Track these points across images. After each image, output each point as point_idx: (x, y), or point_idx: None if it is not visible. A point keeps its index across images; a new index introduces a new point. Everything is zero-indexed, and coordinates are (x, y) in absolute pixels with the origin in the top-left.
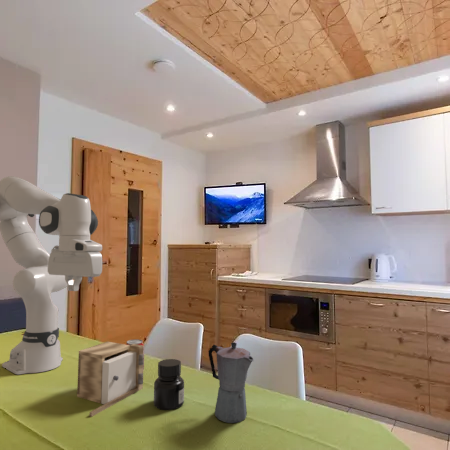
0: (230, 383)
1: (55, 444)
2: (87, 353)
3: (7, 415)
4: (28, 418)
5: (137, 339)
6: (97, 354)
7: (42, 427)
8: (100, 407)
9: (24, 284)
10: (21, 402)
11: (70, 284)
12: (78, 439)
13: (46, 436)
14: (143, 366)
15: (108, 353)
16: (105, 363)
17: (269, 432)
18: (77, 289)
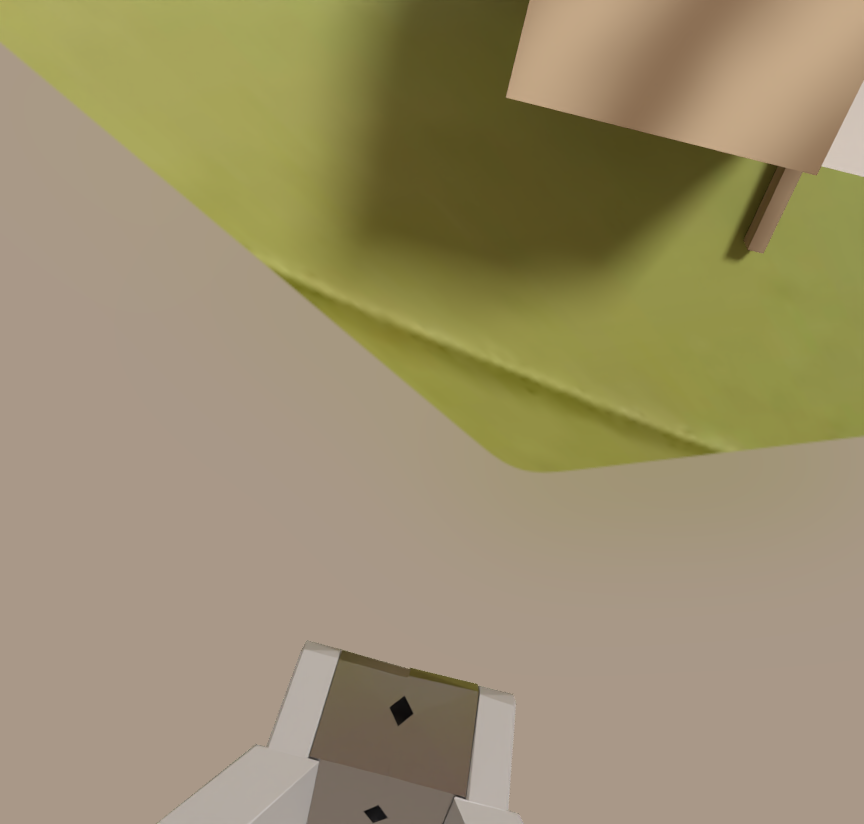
0: None
1: (706, 449)
2: (624, 125)
3: (328, 304)
4: (444, 309)
5: None
6: (753, 155)
7: (567, 361)
8: (788, 186)
9: None
10: (265, 176)
11: (305, 819)
12: (785, 410)
13: (633, 412)
14: None
15: (857, 92)
16: (844, 169)
17: None
18: (504, 725)
